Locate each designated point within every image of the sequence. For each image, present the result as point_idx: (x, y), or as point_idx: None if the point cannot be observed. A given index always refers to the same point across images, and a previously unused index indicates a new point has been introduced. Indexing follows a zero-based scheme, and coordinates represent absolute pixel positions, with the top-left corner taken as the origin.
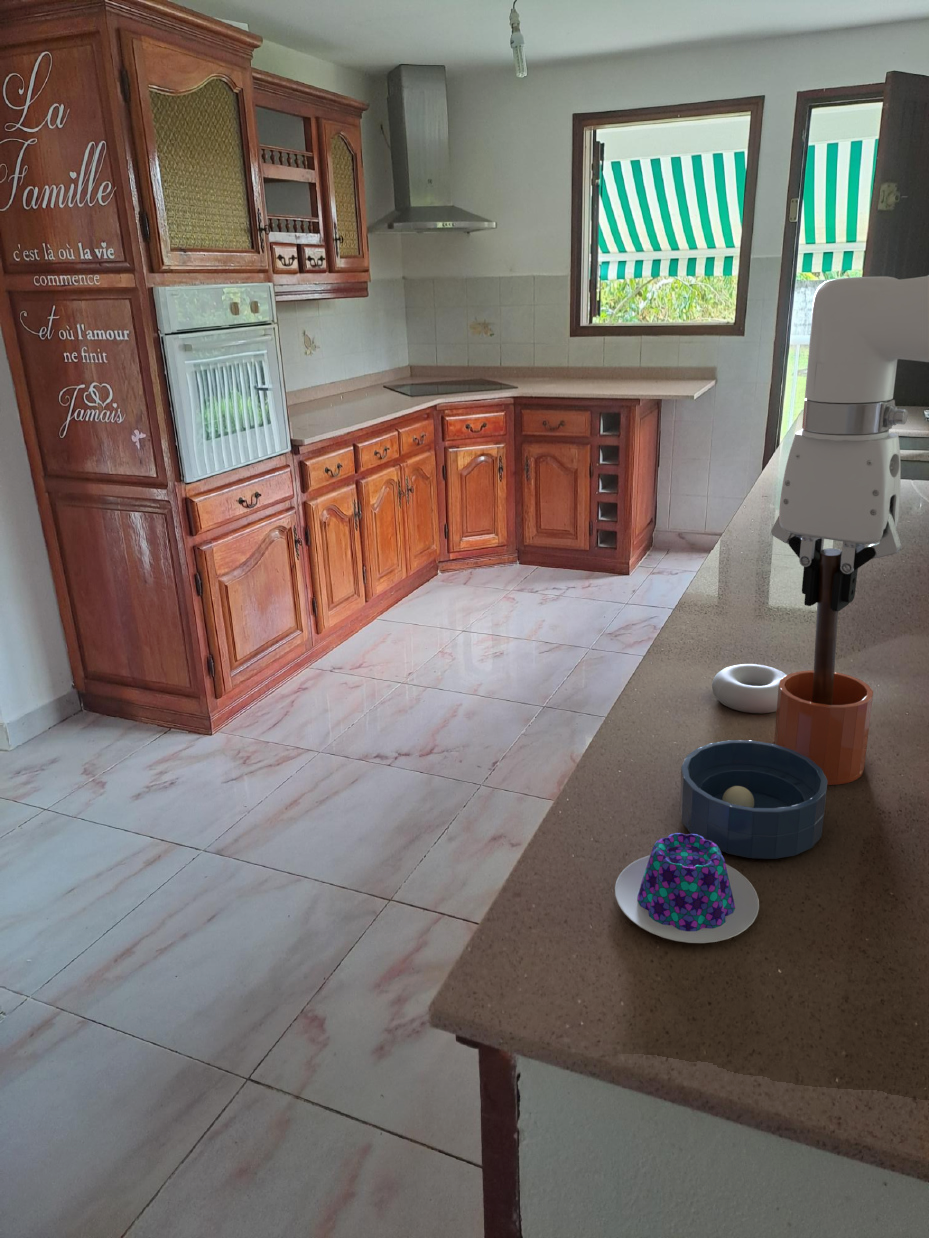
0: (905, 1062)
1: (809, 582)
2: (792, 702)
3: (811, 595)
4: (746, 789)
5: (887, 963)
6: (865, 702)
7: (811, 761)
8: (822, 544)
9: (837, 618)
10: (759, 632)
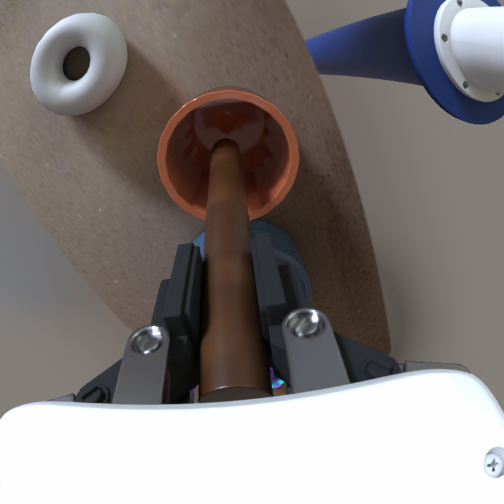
0: (386, 349)
1: None
2: None
3: None
4: None
5: (372, 317)
6: (297, 166)
7: (276, 251)
8: (166, 383)
9: (251, 236)
10: None
